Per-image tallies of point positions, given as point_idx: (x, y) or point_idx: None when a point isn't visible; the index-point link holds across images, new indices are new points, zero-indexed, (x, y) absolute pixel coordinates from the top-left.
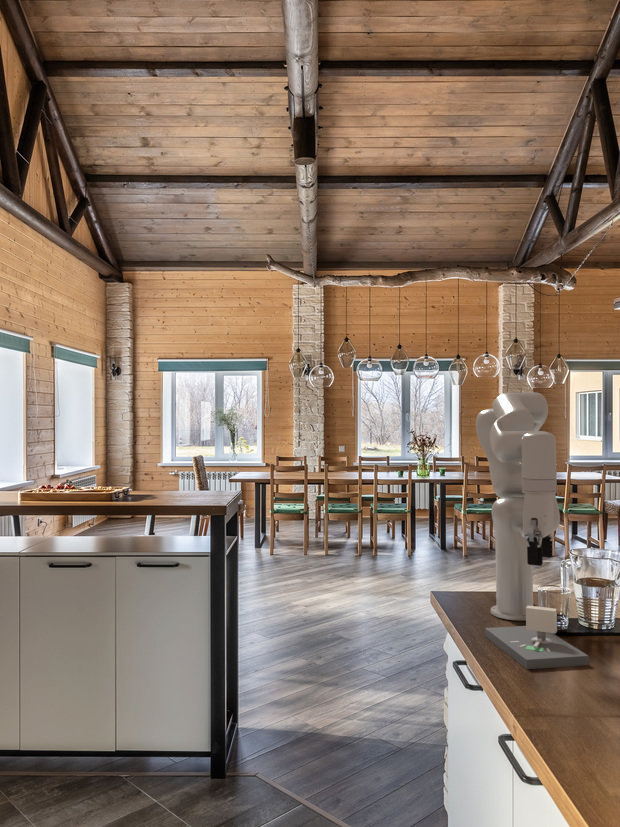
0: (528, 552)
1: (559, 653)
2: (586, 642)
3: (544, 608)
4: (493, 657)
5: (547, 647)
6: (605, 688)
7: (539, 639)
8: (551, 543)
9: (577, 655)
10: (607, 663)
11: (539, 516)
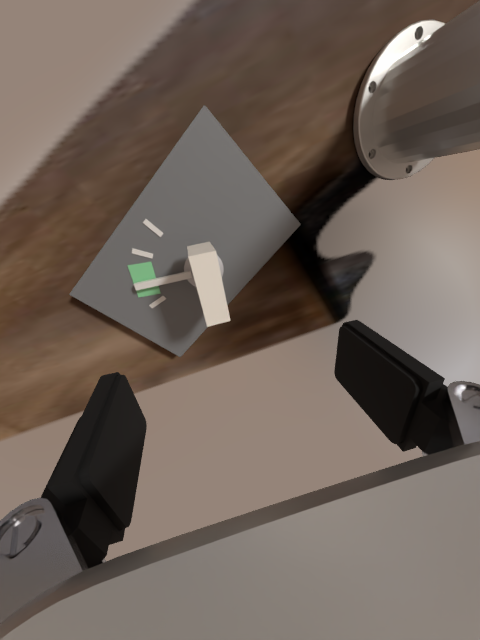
0: (78, 441)
1: (155, 322)
2: (283, 307)
3: (215, 298)
4: (79, 203)
5: (171, 294)
6: None
7: (181, 277)
8: (388, 434)
9: (168, 346)
10: (207, 361)
11: None
